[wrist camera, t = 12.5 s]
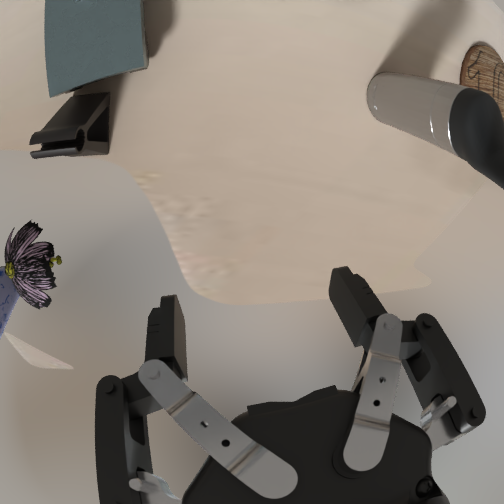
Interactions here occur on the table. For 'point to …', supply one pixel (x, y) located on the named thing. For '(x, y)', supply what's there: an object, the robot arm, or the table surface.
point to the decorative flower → (30, 265)
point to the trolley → (92, 41)
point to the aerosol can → (6, 298)
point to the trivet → (484, 73)
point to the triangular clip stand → (76, 128)
